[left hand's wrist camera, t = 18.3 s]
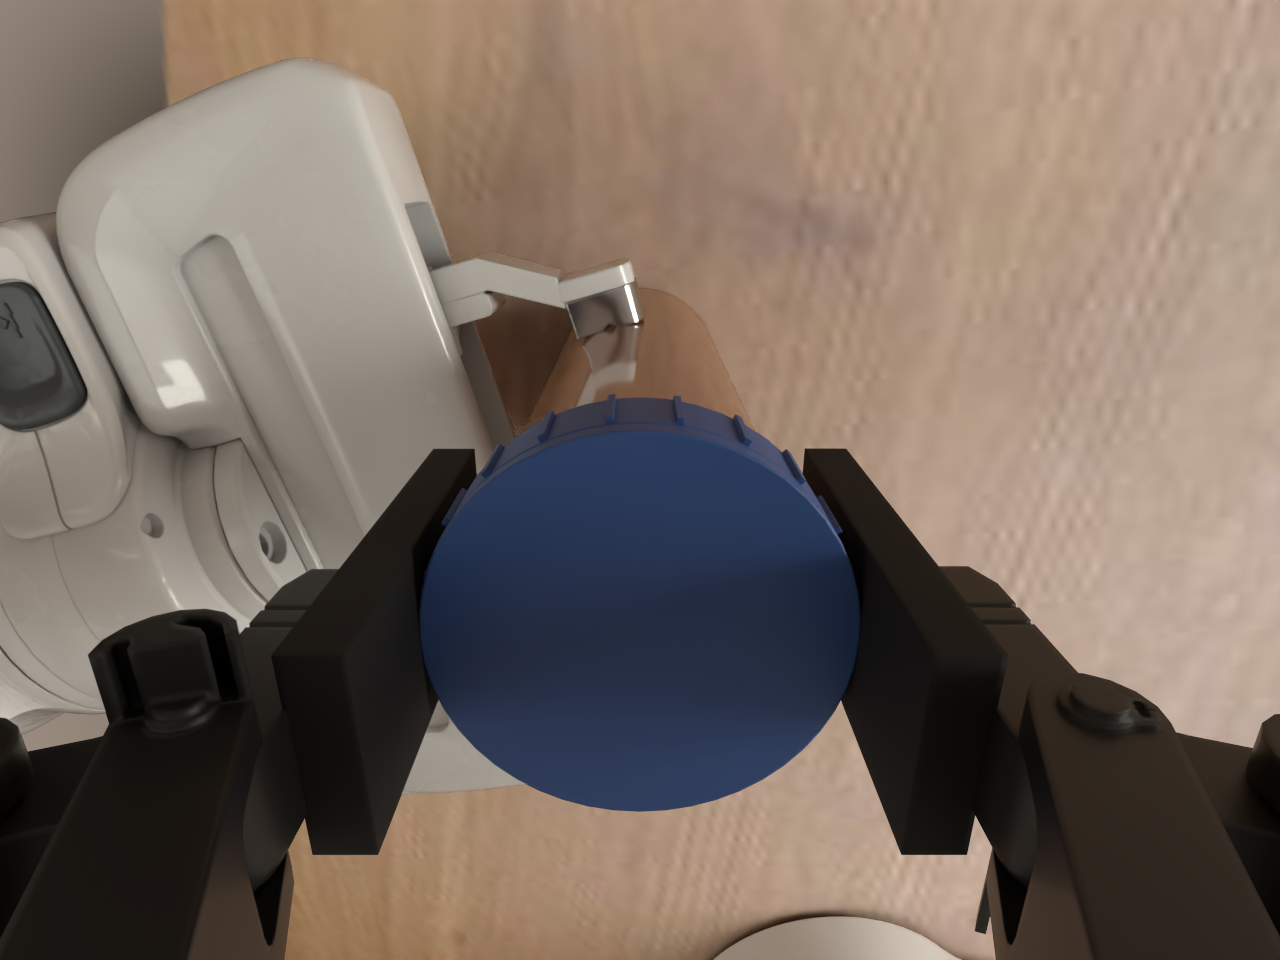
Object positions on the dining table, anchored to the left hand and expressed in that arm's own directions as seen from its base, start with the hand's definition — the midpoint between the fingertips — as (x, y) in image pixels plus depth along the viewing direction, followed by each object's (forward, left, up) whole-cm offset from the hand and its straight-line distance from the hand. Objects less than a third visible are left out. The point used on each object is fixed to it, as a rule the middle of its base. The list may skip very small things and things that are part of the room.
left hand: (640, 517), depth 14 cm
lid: (0, 0, +4) cm, 4 cm away
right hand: (0, +1, -7) cm, 7 cm away
